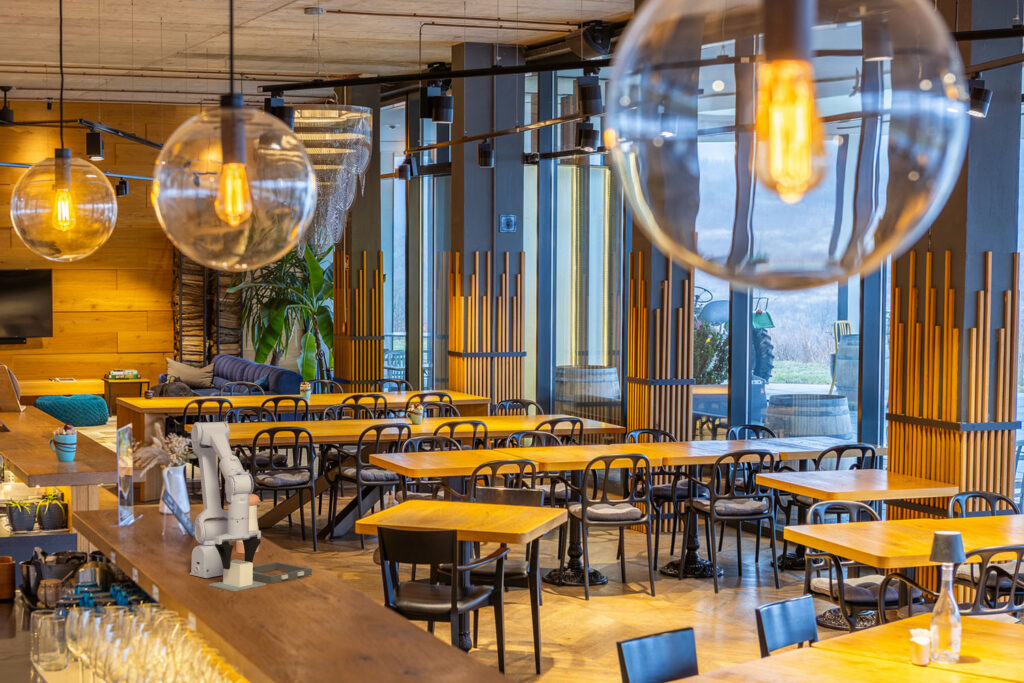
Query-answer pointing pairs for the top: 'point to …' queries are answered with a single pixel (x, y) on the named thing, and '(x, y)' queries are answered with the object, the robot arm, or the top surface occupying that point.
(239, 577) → the block
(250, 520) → the salt shaker
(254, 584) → the slate mat
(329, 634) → the top surface
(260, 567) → the frame
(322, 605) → the top surface
